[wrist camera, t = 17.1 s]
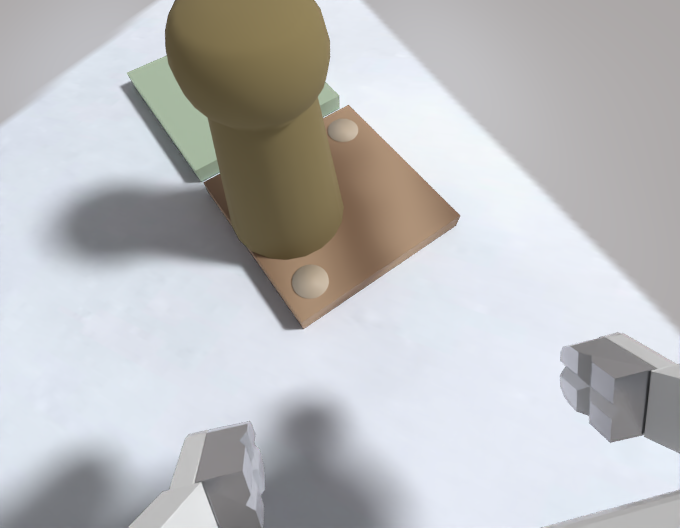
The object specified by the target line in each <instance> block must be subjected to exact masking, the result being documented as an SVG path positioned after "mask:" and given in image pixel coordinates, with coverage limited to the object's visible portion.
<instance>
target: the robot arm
mask: <svg viewBox="0 0 680 528" xmlns="http://www.w3.org/2000/svg"><path fill="white" fill-rule="evenodd" d="M560 361H561V362H562V363H563V364H564V365H565V366H566V367H565V368H564V370H563V371H562V373H561V374H560V387H561V389H562V392H563V395H564V397H565V399H566V400H567V402H568V403H569V404H570V405H571V406H572V407H573V408H574V409H575V410H576V411H577V412H580V413H583V414H585V415H588V416H589V423H590V424H591V425H592V426H593V427H594V428H595V429H596V430H597V431H598V432H599V433H600V434H601V435H602V436H604V437H605V438H606V439H607V440H608V441H609V442H610V443H611V442H615V441H620V440H624V439H628V438H633V437H637V436H642V435H644V437H646V438H648V439H650V440H652V441H654V442H656V443H659V444H661V445H663V446H665V447H667V448H669V449H671V450H674V451H676V452H678V453H680V364H676V363H674V362H672V361H671V360H669V359H667V358H666V357H664V356H662V355H660V354H659V353H657V352H655V351H653V350H652V349H650V348H648V347H647V346H645V345H643V344H641V343H640V342H638V341H636V340H634V339H633V338H631V337H629V336H628V335H626V334H623V333H618V332H617V333H613V334H609V335H606V336H602V337H599V338H597V339H593V340H589V341H584V342H580V343H576V344H572V345H568V346H564V347H563V348H562V350H561V353H560ZM264 490H265V471H264V463H263V458H262V454H261V451H260V448H259V447H257V446H256V445H255V431H254V428H253V425H252V423H251V422H250V421H247V422H242V423H237V424H233V425H228V426H223V427H219V428H214V429H210V430H205V431H201V432H197V433H192V434H189V435H188V436H187V437H186V438H185V440H184V443H183V446H182V449H181V453H180V456H179V459H178V462H177V465H176V469H175V472H174V475H173V478H172V481H171V485H170V488H169V490H167V491H163V492H161V494H160V495H159V496H158V497H157V498H156V499H155V500H154V501H153V502H152V503H151V504H150V505H149V506H148V507H147V508H146V509H145V510H144V511H143V512H142V513H141V514H140V515H139V516H138V517H137V518H136V520H135V521H134V522H133V523H132V524H131V525H130V526H129V527H128V528H263V523H264V504H263V501H262V497H261V495H262V493H263V492H264ZM541 528H680V490H676V491H672V492H669V493H665V494H661V495H658V496H654V497H651V498H647V499H643V500H640V501H636V502H632V503H629V504H625V505H621V506H618V507H614V508H610V509H607V510H603V511H599V512H596V513H592V514H589V515H585V516H581V517H578V518H574V519H570V520H567V521H563V522H559V523H556V524H552V525H549V526H545V527H541Z"/></svg>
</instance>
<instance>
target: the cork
mask: <svg viewBox="0 0 680 528" xmlns="http://www.w3.org/2000/svg"><path fill="white" fill-rule="evenodd" d="M165 47H166V53H167V59H168V64H169V67H170V69H171V71H172V73H173V75H174V77H175V79H176V81H177V83H178V85H179V87H180V88H181V90H182V92H183V94H184V95H185V97H186V98H187V99H188V100H189V101H190V103H191V104H192V105H193V106H194V108H196V109H197V110H198V111H199V112H201V113H202V114H203V115H205V116H206V117H207V118H208V122H209V127H210V131H211V135H212V140H213V144H214V149H215V153H216V157H217V162H218V166H219V171H220V175H221V179H222V184H223V188H224V193H225V197H226V201H227V206H228V210H229V215H230V219H231V223H232V227H233V229H234V231H235V233H236V235H237V237H238V239H239V240H240V241H241V242H242V243H243V244H244V245H245V246H246V247H247V248H249V249H250V250H251V251H252V252H255V253H257V254H260V255H262V256H264V257H267V258H273V259H283V260H288V259H294V258H299V257H304V256H307V255H309V254H311V253H313V252H315V251H317V250H319V249H321V248H322V247H323V246H324V245H325V244H327V243H328V242H329V241H330V240H331V239H332V238H333V237H334V236H335V234H336V232H337V230H338V228H339V226H340V224H341V222H342V217H343V209H344V206H343V202H342V197H341V193H340V189H339V185H338V180H337V176H336V172H335V168H334V163H333V159H332V155H331V151H330V146H329V142H328V138H327V134H326V129H325V125H324V121H323V117H322V112H321V108H320V104H319V100H318V96H319V94H320V93H321V91H322V90H323V88H324V84H325V80H326V76H327V71H328V66H329V60H330V39H329V36H328V33H327V29H326V26H325V23H324V19H323V16H322V13H321V9H320V8H319V6H318V5H317V3H316V2H315V1H314V0H175V2H174V4H173V6H172V8H171V10H170V12H169V14H168V18H167V23H166V29H165Z"/></svg>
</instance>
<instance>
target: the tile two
mask: <svg viewBox="0 0 680 528" xmlns="http://www.w3.org/2000/svg"><path fill="white" fill-rule="evenodd" d="M323 121H324V125H325V129H326V134H327V138H328V142H329V146H330V151H331V155H332V159H333V163H334V168H335V172H336V176H337V180H338V185H339V189H340V193H341V197H342V202H343V206H344V209H343V217H342V222H341V224H340V226H339V228H338V230H337V232H336V234H335V236H334V237H333V238H332V239H331V240H330V241H329V242H328V243H327V244H325V245H324V246H323V247H322V248H321V249H319V250H317V251H315V252H313V253H311V254H309V255H307V256H304V257H299V258H294V259H288V260H283V259H273V258H267V257H264V256H262V255H260V254H257V253H255V252H252V251H251V250H250V249H249V248H247V249H248V250H249V251H250V253H251V254H252V256H253V257H254V259H255V260H256V261H257V263H258V264H259V266H260V267H261V269H262V270H263V271H264V273H265V274H266V276H267V277H268V279H269V280H270V282H271V283H272V284H273V286H274V287H275V289H276V290H277V292H278V293H279V294H280V296H281V297H282V299H283V300H284V302H285V303H286V304H287V306H288V307H289V309H290V310H291V312H292V313H293V315H294V316H295V317H296V319H297V320H298V322H299V323H300V325H301V326H302V327H303V329H304V328H306V327H307V326H309V325H310V324H312V323H313V322H315V321H316V320H318V319H319V318H321V317H322V316H324V315H325V314H327V313H328V312H329V311H331V310H332V309H334V308H335V307H337V306H338V305H340V304H341V303H343V302H344V301H346V300H347V299H349V298H350V297H352V296H353V295H354V294H356V293H357V292H359V291H360V290H362V289H363V288H365V287H366V286H368V285H369V284H371V283H372V282H374V281H375V280H377V279H378V278H379V277H381V276H382V275H384V274H385V273H387V272H388V271H390V270H391V269H393V268H394V267H396V266H397V265H399V264H400V263H402V262H403V261H404V260H406V259H407V258H409V257H410V256H412V255H413V254H415V253H416V252H418V251H419V250H421V249H422V248H424V247H425V246H427V245H428V244H429V243H431V242H432V241H434V240H435V239H437V238H438V237H440V236H441V235H443V234H444V233H446V232H447V231H449V230H450V229H452V228H453V227H454V226H456V224H457V222H458V220H459V218H460V215H459V214H458V213H457V212H456V211H455V210H454V209H453V208H452V207H451V206H450V205H449V204H448V203H447V202H446V201H445V200H444V199H443V198H442V197H441V196H440V195H439V194H438V193H437V192H436V191H435V190H434V189H433V188H432V187H431V186H430V185H429V184H428V183H427V182H426V181H425V180H424V179H423V178H422V177H421V176H420V175H419V174H418V173H417V172H416V171H415V170H414V169H413V168H412V167H411V166H410V165H409V164H408V163H407V162H406V161H405V160H404V159H403V158H402V157H401V156H400V155H399V154H398V153H397V152H396V151H395V150H394V149H393V148H392V147H390V146H389V145H388V144H387V143H386V142H385V141H384V140H383V139H382V138H381V137H380V136H379V135H378V134H377V133H376V132H375V131H374V130H373V129H372V128H371V127H370V126H369V125H368V124H367V123H366V122H365V121H364V120H363V119H362V118H361V117H360V116H359V115H358V114H357V113H356V112H355V111H354V110H353V109H352V108H351V107H350V106H349V105H347V106H346V107H344V108H342V109H340V110H338V111H336V112H334V113H333V114H331V115H329V116H327V117H325V118H323ZM204 185H205V187H206V188H207V190H208V192H209V194H210V195H211V197H212V198H213V200H214V201H215V203H216V204H217V205H218V207H219V208H220V210H221V211H222V213H223V214H224V216H225V217H226V218H227V220H228V221H229V223H230V224H231V226H232V223H231V219H230V215H229V210H228V206H227V201H226V197H225V193H224V188H223V184H222V179H221V175H220V174H218V175H217V176H215V177H213V178H211V179H209V180H207V181H205V182H204Z"/></svg>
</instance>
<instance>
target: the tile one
mask: <svg viewBox="0 0 680 528" xmlns="http://www.w3.org/2000/svg"><path fill="white" fill-rule="evenodd" d="M127 74H128V76H129V78H130V80H131V81H132V83H133V85H134V86H135V88H136V89H137V91H138V92H139V94H140V95H141V96H142V98H143V99H144V101H145V102H146V104H147V105H148V106H149V108H150V109H151V111H152V112H153V114H154V115H155V117H156V118H157V119H158V121H159V122H160V124H161V125H162V127H163V128H164V129H165V131H166V132H167V134H168V135H169V137H170V138H171V139H172V141H173V142H174V144H175V145H176V147H177V148H178V150H179V151H180V152H181V154H182V155H183V157H184V158H185V160H186V161H187V162H188V164H189V165H190V167H191V168H192V170H193V171H194V172H195V174H196V175H197V177H198V178H199V180H200V181H201V182H202V181H204V180H206V179H208V178H209V177H211V176H213V175H215V174H217V173H219V172H220V171H219V166H218V162H217V157H216V153H215V149H214V144H213V140H212V135H211V131H210V127H209V122H208V118H207V117H206V116H205V115H203V114H202V113H201V112H199V111H198V110H197V109H196V108H194V106H193V105H192V104H191V103H190V101H189V100H188V99H187V98H186V97H185V95H184V94H183V92H182V90H181V88H180V87H179V85H178V83H177V81H176V79H175V77H174V75H173V73H172V71H171V69H170V67H169V64H168V59H167V56H164V57H162V58H160V59H158V60H155V61H153V62H151V63H148V64H146V65H144V66H142V67H139V68H137V69H135V70H132V71H130V72H128V73H127ZM318 100H319V104H320V108H321V112H322V117H324V116H326V115H328V114H329V113H331V112H333V111H335V110H337V109H339V95H338V94H337V93H336V92H335V91H334V90H333V89H332V88H331V87H330V86H329V85H328V84H327V83H326V82H325V84H324V88H323V90H322V91H321V93H320V94H319V96H318Z"/></svg>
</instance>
